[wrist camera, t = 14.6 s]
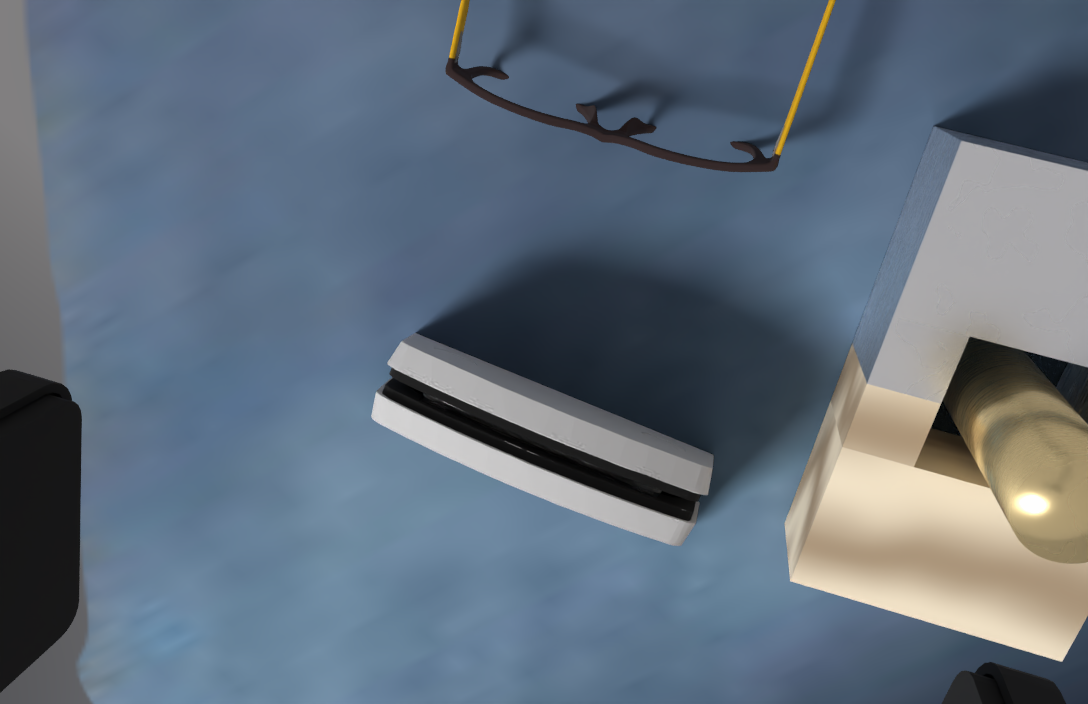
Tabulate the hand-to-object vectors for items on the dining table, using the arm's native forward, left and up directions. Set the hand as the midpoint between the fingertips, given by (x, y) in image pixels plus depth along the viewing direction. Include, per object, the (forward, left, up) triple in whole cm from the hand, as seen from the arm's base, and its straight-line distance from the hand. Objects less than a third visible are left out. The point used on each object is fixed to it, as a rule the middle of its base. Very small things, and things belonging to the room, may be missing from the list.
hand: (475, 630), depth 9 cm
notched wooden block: (+11, +16, -33) cm, 39 cm away
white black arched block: (+14, -2, -34) cm, 36 cm away
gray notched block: (+1, +16, -33) cm, 37 cm away
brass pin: (+6, +16, -33) cm, 37 cm away
